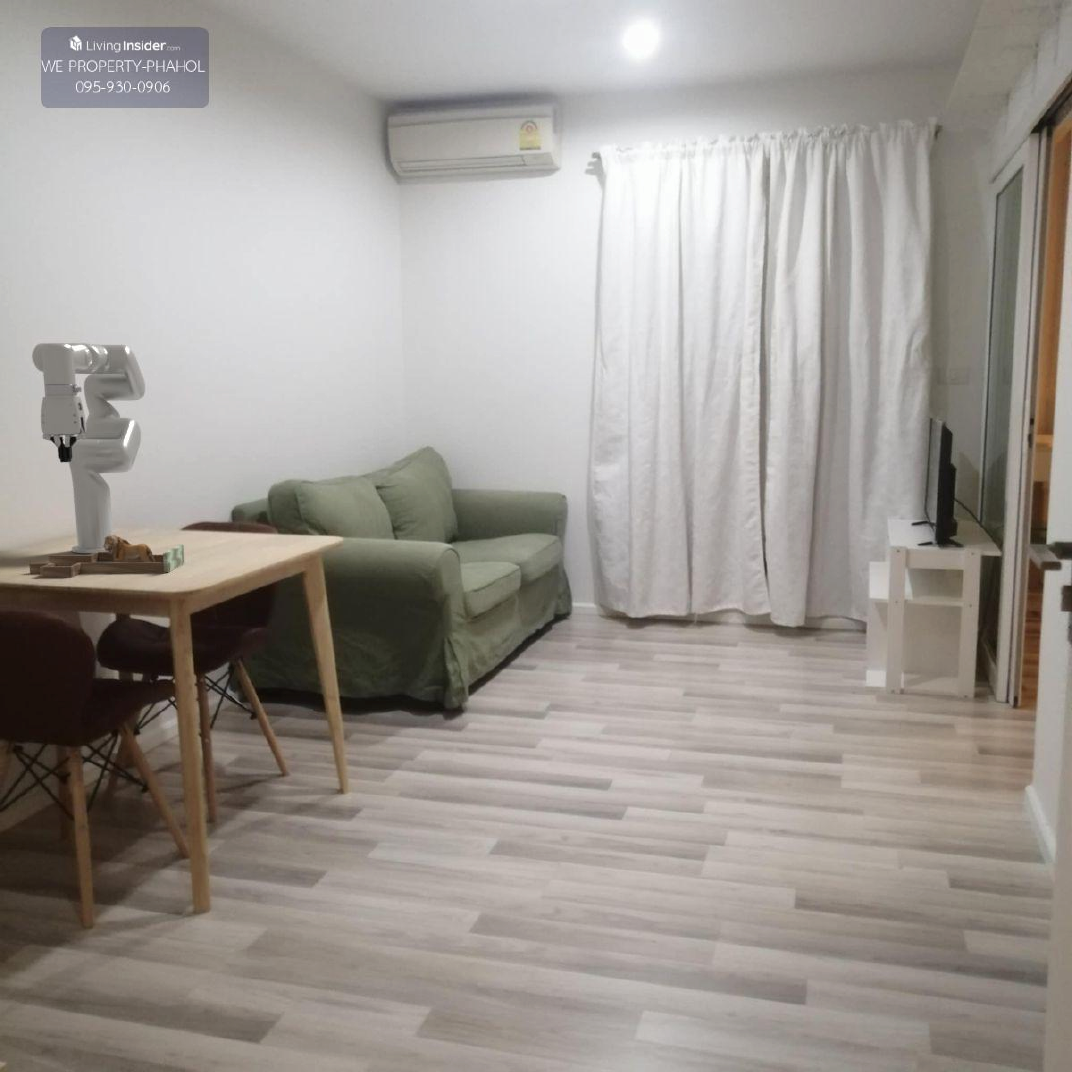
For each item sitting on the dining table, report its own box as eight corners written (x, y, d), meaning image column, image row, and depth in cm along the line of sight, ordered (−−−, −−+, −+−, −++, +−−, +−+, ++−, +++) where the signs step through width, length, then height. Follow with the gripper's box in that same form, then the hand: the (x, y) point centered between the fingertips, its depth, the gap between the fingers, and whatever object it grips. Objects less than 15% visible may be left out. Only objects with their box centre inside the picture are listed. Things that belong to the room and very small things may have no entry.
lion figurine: (101, 571, 265) (99, 536, 264) (110, 567, 271) (108, 533, 269) (158, 571, 265) (156, 536, 264) (166, 567, 270) (164, 533, 269)
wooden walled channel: (59, 561, 279) (58, 542, 279) (189, 560, 280) (188, 542, 279) (20, 577, 258) (19, 557, 257) (162, 576, 258) (160, 556, 257)
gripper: (95, 391, 273) (100, 460, 276) (38, 391, 273) (43, 460, 276) (83, 391, 266) (88, 463, 269) (24, 391, 266) (30, 463, 268)
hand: (65, 461), depth 272 cm, fingers closed
